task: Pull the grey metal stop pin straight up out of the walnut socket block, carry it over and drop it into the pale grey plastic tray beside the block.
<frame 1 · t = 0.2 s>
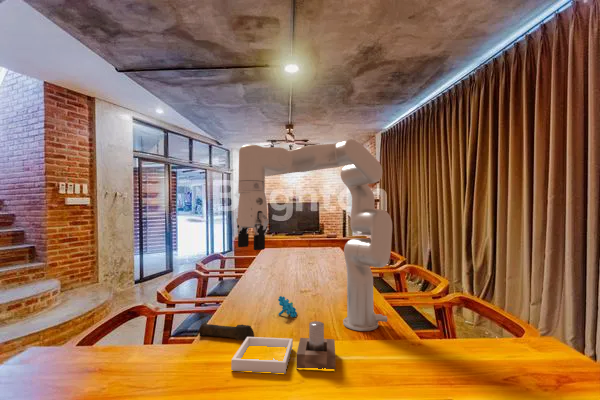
hand: (250, 248, 80), 31 cm above the table, tool pointing down, fingers open, 9 cm apart
pin: (316, 342, 77), in the socket block
teal knobbly figurine: (287, 316, 113), on the table
socket block: (316, 361, 77), on the table
hand tool: (227, 338, 93), on the table
tray: (264, 359, 78), on the table
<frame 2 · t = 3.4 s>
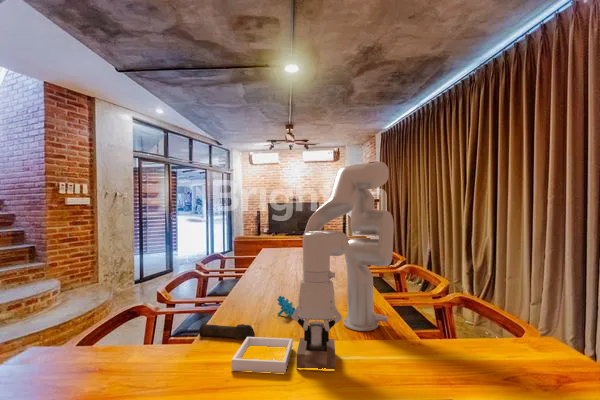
hand: (316, 343, 77), 5 cm above the table, tool pointing down, fingers closed on pin, 4 cm apart
pin: (316, 342, 77), in the socket block, touching gripper
everything else where it was.
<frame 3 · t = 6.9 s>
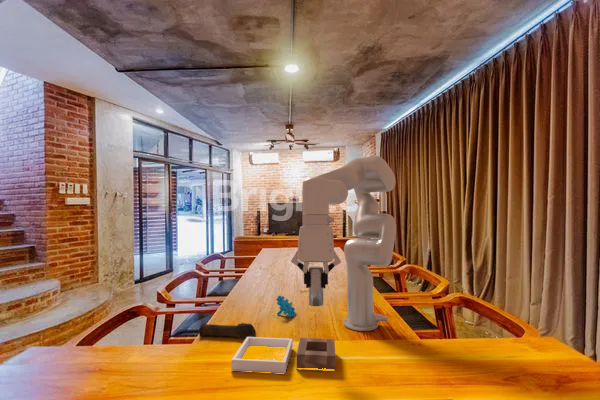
hand: (316, 286, 78), 20 cm above the table, tool pointing down, fingers closed on pin, 4 cm apart
pin: (316, 285, 78), point 20 cm above the table, touching gripper
when the fingers open (7 cm above the table, at t = 10.7 s): pin drops 1 cm, resting on tray.
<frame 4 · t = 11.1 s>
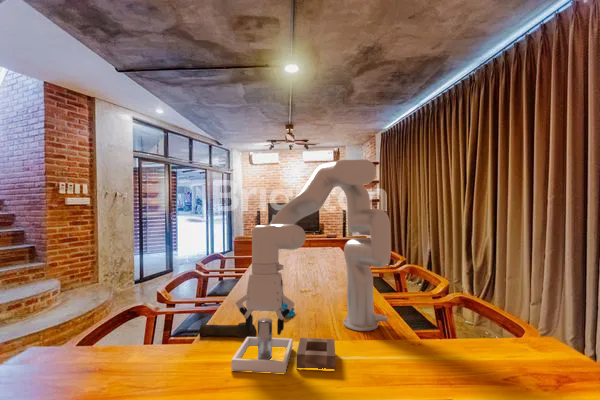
hand: (264, 331, 78), 7 cm above the table, tool pointing down, fingers open, 8 cm apart
pin: (264, 339, 78), in the tray
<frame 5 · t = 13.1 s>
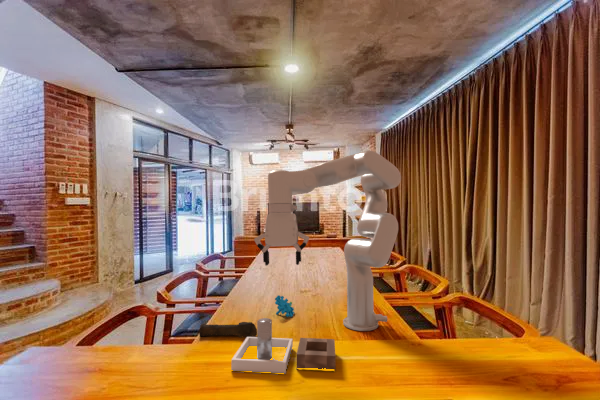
hand: (282, 264, 88), 25 cm above the table, tool pointing down, fingers open, 9 cm apart
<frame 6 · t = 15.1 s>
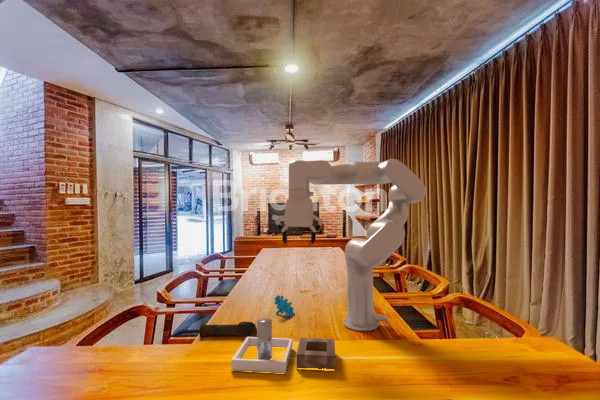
hand: (298, 243, 99), 30 cm above the table, tool pointing down, fingers open, 9 cm apart
at the end: pin inside the target area on the tray (0.1 cm from its centre), point 5.5 cm above the tray's base; pin moved 14.4 cm from its start; the gripper is holding nothing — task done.
